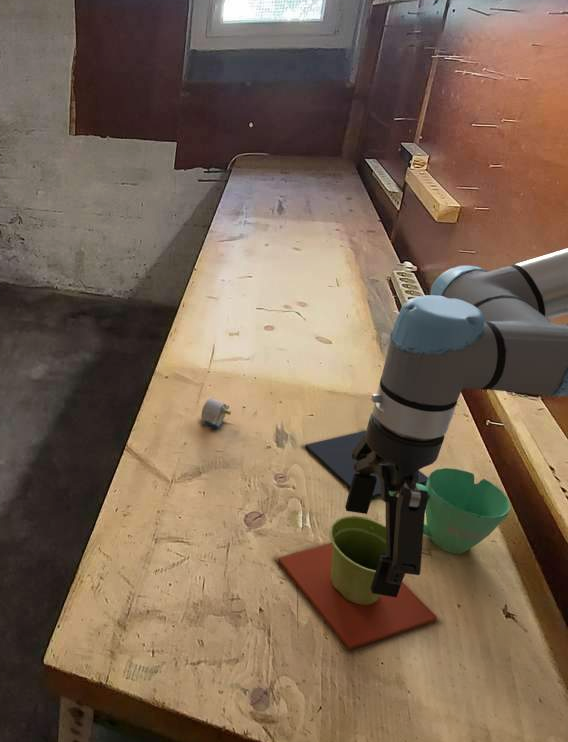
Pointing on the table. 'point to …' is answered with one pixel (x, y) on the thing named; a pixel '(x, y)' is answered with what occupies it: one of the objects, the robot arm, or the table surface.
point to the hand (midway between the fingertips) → (368, 548)
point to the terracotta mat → (349, 617)
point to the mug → (461, 509)
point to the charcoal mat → (345, 458)
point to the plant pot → (356, 556)
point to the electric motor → (214, 412)
